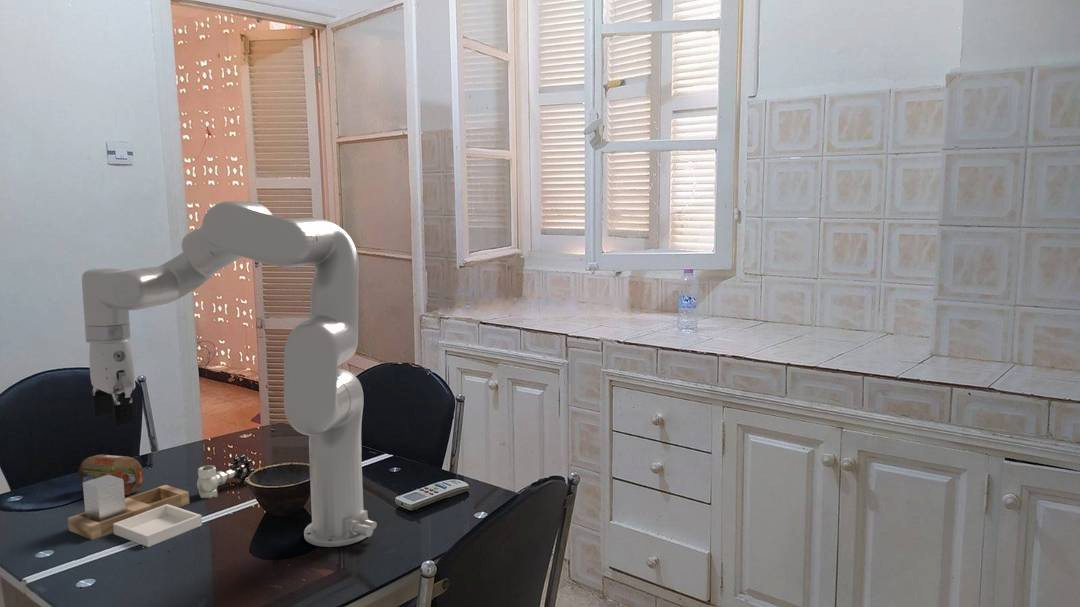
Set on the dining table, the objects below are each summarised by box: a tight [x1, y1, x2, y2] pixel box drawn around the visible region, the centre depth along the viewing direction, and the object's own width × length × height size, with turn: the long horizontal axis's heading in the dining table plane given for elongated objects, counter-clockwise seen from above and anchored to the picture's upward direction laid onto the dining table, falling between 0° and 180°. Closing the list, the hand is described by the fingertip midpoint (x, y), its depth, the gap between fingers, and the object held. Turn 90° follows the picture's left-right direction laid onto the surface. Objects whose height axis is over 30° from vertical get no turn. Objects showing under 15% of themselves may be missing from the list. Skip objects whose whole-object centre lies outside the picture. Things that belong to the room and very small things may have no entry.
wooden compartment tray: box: [67, 484, 190, 540], centre depth 151 cm, size 8×20×3 cm, turn 149°
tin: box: [78, 454, 145, 496], centre depth 165 cm, size 15×3×8 cm, turn 76°
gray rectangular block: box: [82, 475, 126, 522], centre depth 146 cm, size 5×5×9 cm
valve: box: [196, 454, 256, 499], centre depth 165 cm, size 7×7×12 cm
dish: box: [113, 504, 203, 548], centre depth 145 cm, size 11×11×2 cm
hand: (113, 418), depth 148 cm, fingers open, 9 cm apart
